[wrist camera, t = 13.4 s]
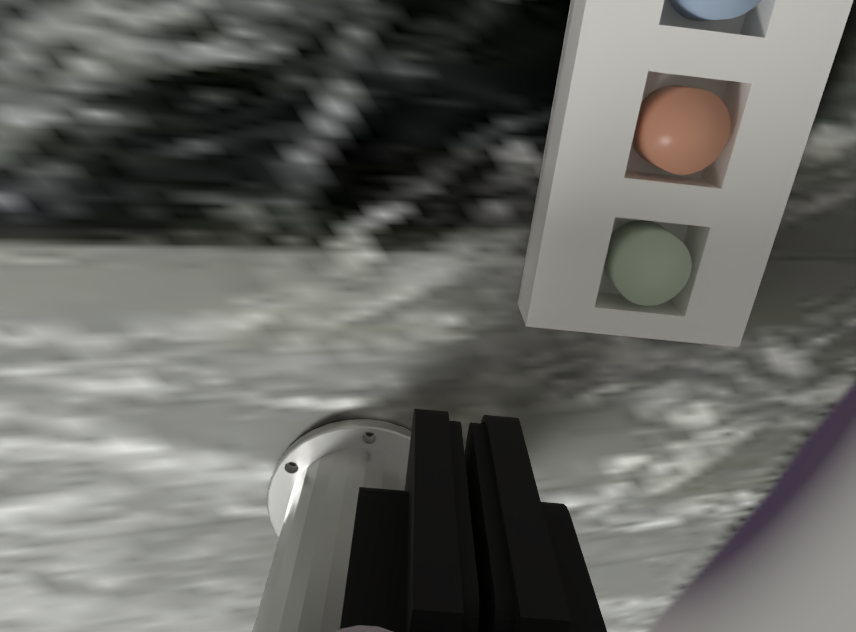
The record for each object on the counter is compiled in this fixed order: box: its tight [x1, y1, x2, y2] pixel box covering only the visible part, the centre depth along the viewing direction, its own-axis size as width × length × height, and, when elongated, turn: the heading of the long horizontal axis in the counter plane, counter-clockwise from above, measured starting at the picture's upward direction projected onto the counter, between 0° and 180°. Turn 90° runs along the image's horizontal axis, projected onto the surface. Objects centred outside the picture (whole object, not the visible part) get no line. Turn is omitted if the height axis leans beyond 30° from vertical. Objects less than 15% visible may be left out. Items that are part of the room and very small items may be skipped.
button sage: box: [603, 220, 692, 306], centre depth 35 cm, size 4×4×3 cm
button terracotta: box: [632, 85, 731, 175], centre depth 32 cm, size 4×4×3 cm
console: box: [517, 0, 853, 347], centre depth 33 cm, size 22×12×3 cm, turn 174°
